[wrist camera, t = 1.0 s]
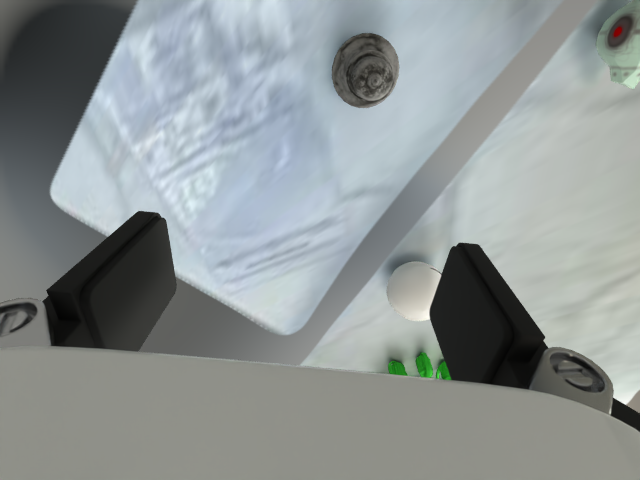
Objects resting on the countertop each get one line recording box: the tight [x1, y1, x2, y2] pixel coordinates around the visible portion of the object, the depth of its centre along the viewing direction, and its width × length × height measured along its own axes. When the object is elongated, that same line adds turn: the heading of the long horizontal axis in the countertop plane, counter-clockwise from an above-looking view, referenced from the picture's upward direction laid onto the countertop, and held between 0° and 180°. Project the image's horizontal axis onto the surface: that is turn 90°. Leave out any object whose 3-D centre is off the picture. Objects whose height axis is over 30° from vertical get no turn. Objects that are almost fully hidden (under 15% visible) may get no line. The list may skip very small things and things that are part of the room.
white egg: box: [387, 261, 442, 321], centre depth 41 cm, size 10×7×7 cm
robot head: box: [596, 0, 640, 89], centre depth 27 cm, size 8×4×7 cm, turn 178°
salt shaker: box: [332, 33, 399, 108], centre depth 27 cm, size 6×6×12 cm
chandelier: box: [388, 353, 451, 380], centre depth 52 cm, size 15×15×7 cm
